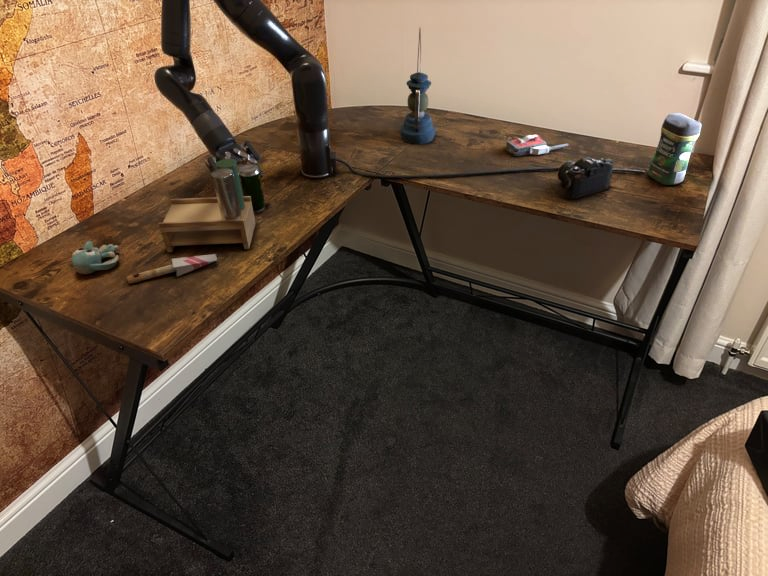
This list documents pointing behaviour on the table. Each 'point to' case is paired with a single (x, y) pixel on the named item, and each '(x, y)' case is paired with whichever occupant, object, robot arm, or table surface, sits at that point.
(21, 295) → the table surface
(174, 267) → the paintbrush
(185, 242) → the tray
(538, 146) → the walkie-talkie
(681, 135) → the coffee jar
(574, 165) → the film camera
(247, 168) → the beer can
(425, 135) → the lantern
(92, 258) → the stuffed animal
